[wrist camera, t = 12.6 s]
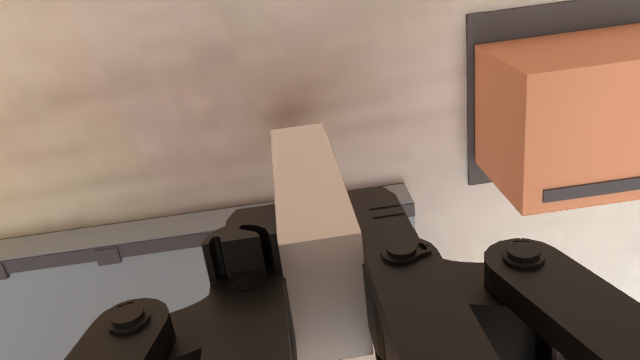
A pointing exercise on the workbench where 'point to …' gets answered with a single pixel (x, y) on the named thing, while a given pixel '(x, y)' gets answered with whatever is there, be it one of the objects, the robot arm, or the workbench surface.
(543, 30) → the mat
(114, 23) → the workbench surface
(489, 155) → the block
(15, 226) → the workbench surface
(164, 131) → the workbench surface
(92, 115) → the workbench surface
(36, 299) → the long grey bar
